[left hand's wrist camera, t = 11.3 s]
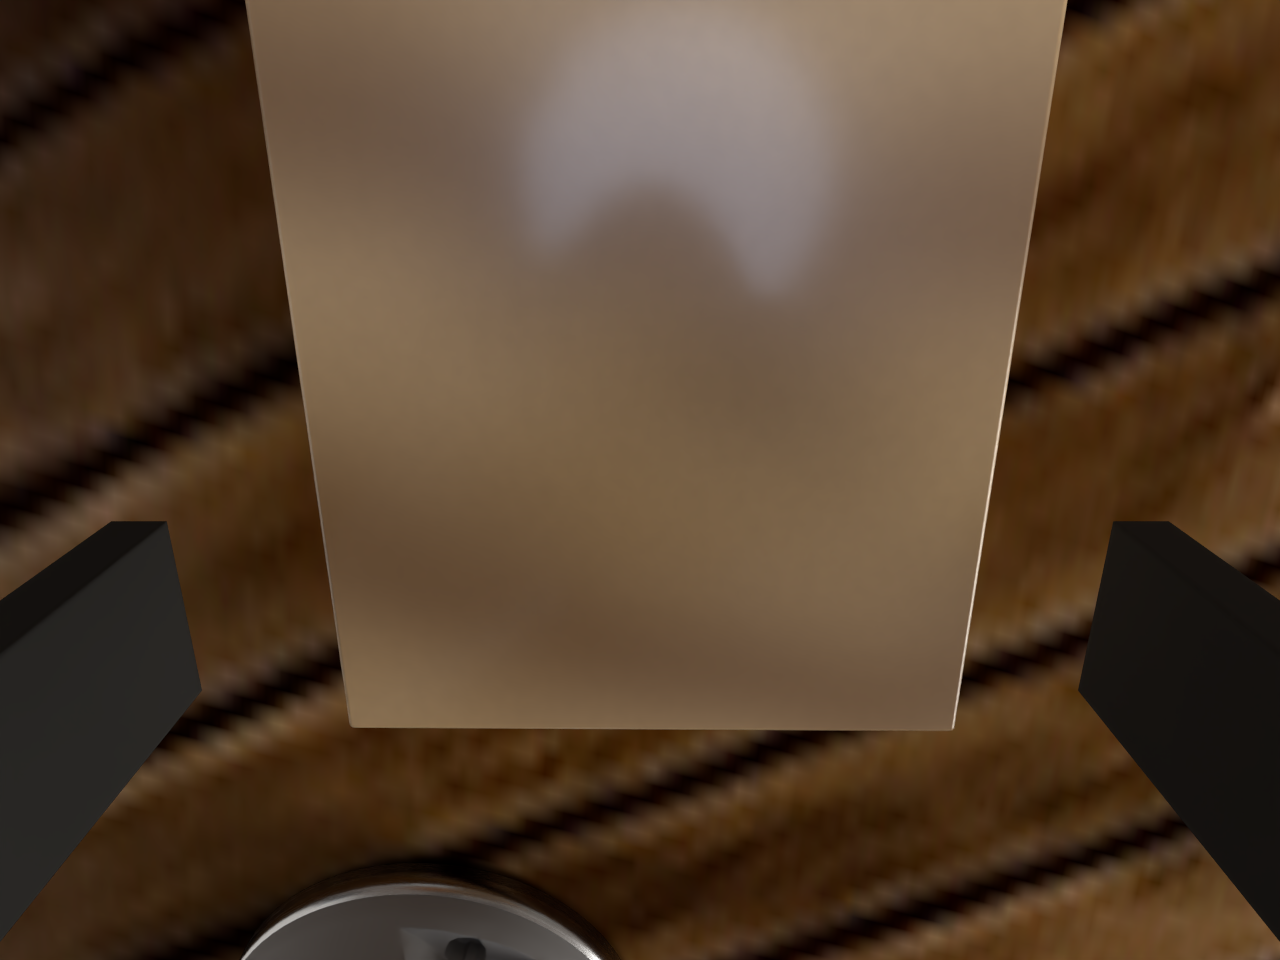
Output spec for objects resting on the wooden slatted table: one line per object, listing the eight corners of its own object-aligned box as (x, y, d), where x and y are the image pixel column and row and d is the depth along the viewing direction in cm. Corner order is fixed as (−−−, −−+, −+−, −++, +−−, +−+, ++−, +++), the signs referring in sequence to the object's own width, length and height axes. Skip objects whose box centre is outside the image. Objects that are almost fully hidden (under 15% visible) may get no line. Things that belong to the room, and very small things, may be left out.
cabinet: (412, -305, 19) (117, -858, 8) (895, -309, 19) (1206, -868, 8) (471, 486, 26) (348, 729, 15) (829, 487, 26) (955, 733, 15)
